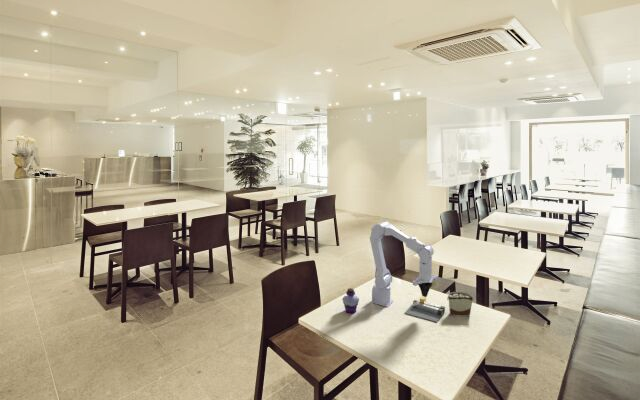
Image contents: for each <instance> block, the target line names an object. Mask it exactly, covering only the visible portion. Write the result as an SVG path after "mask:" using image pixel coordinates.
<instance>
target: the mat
mask: <svg viewBox="0 0 640 400" xmlns="http://www.w3.org/2000/svg"><path fill="white" fill-rule="evenodd" d="M404 314H405V315H408V316H411V317H415V318H419V319H423V320H427V321H429V322H434V323H438V322H439V321H440V319H441V318H442V316H440V315H437V314H434V313H431V312H428V311H424V310H421V309H418V308H413V303H411V305H410V306H409V307H408V308H407V309H406V310H405V312H404Z"/></svg>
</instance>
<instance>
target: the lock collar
mask: <svg viewBox="0 0 640 400" xmlns="http://www.w3.org/2000/svg"><path fill="white" fill-rule="evenodd" d="M419 301H420V303H423V304H424V303H425V302H427V297H424V296H420V298H419Z"/></svg>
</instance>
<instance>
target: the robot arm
mask: <svg viewBox="0 0 640 400" xmlns="http://www.w3.org/2000/svg"><path fill="white" fill-rule="evenodd" d="M370 230H371V232H370V235H369V241H370V242H369V243H370V247H371V250H372V255H373V261H374V265H375V268H376V269H375V270H376V271H375V275H374V279H375V280H374V284H373V287H372V290H371V301H370V302H371V303H372V304H375V305H380V306H383V307H387V308H388V307H389V306H390V305H391V304H392V303H393V302H394V300H393V299H391V283H392V282H393V275H391V272H390V270H389V269H388V268H387V264H386V259H385V255H384V250H383V246H382V241H381V240H382V239H383V237H384V236H385V237H386V236H392V237H394V238H396V239H397V240H399V241H400V242H403V243H404V244H405V246H406V247H407V248H408V249H410V250H411V251H413V252H415V254H417V255H418V257H419V265H418V266H419V267H418V268H419V270H418V271H419V273H418V274H419V275H418V277H417V278H416V279H415V280H412V285H413V286H415V287H417V286H418V287H419V289H420V292H421V297H426V298H427V297H428V294H429V291H430V289H431V287H432V286H433V281H437V280H438V276H437V275H435V274H434V275H432V267H433V266H432V265H433V255H434V253H435V251H434V248H433V247H432V246H431V245H430V244H426V243H423V242H422V241H419V240H418V238H417V237H414V236H412V237H411V236H410V237H409V236H408V235H406V234H405V233H404V232H402V231H400V230H399V229H398V228H396V227H395V226H394V225H393V224H392V223H390V222H389V221H386V220H383V221H381V222H379V223H376V224H374V225H373V226H372V228H370Z"/></svg>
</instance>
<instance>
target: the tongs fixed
mask: <svg viewBox="0 0 640 400" xmlns="http://www.w3.org/2000/svg"><path fill="white" fill-rule="evenodd" d="M415 300H416V301H418V302H419V303H420V299H415ZM422 304H423V303H422ZM424 304H426V305H429V306H433V307H436V308H440V309H443V314H445V313H446V306H445V305H444V306H443V305H440V304H439V305H438V304H434V303H430V302H427V301H426V302H425V303H424Z"/></svg>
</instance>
